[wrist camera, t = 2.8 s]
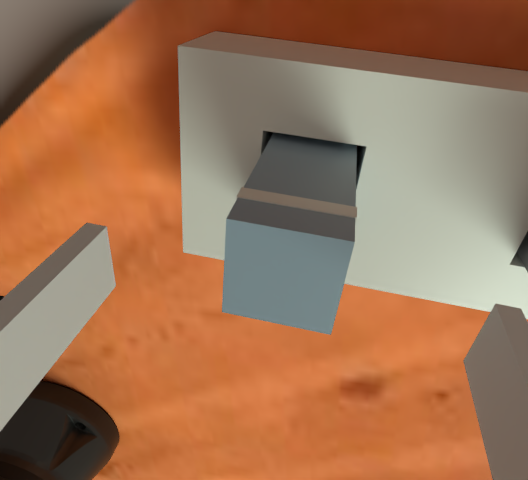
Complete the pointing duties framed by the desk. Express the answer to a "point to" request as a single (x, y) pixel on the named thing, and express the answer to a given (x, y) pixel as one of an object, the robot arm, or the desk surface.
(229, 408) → the desk surface
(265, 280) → the slate plug
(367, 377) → the desk surface
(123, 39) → the desk surface
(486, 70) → the block
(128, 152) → the desk surface
